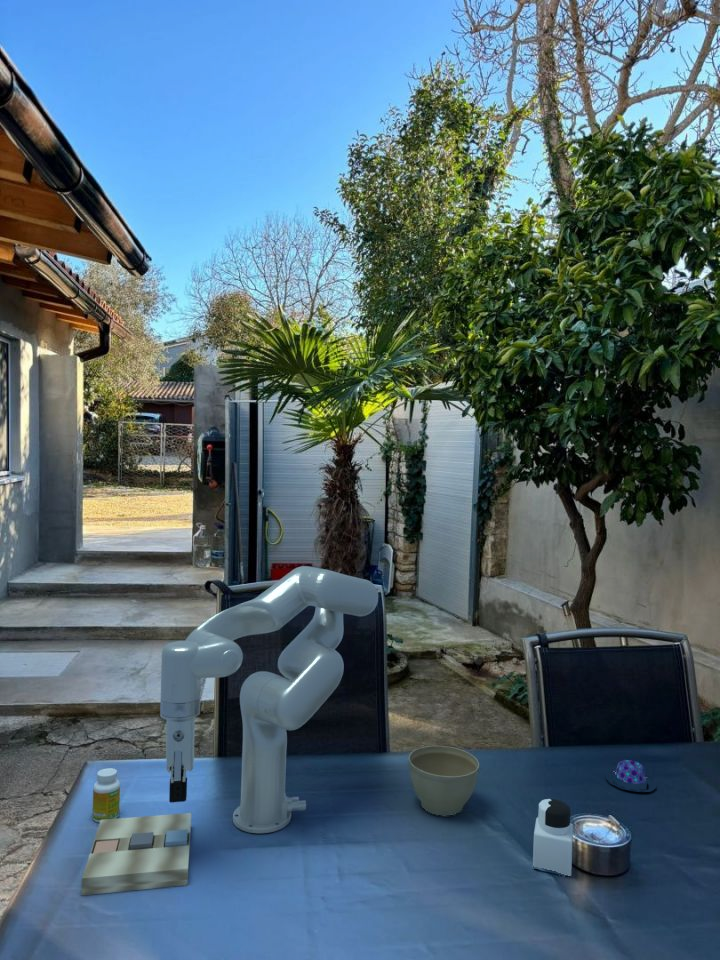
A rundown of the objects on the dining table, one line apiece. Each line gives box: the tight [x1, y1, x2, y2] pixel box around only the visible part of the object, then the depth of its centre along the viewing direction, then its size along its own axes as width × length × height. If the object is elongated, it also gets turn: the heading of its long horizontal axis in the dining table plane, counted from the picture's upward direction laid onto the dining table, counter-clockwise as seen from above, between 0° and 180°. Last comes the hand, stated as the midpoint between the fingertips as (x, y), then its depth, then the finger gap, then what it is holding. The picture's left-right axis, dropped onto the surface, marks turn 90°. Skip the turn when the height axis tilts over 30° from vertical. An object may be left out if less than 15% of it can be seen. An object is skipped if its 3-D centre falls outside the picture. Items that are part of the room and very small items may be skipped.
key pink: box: [93, 840, 119, 853], centre depth 125 cm, size 4×4×2 cm
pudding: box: [614, 759, 647, 784], centre depth 166 cm, size 12×12×5 cm
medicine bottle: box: [532, 798, 574, 877], centre depth 129 cm, size 7×7×12 cm
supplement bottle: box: [91, 767, 121, 824], centre depth 141 cm, size 5×5×10 cm
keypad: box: [80, 812, 192, 896], centre depth 126 cm, size 18×20×3 cm
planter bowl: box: [408, 745, 480, 816], centre depth 150 cm, size 16×16×11 cm
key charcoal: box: [130, 832, 154, 850], centre depth 126 cm, size 4×4×2 cm
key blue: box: [165, 829, 188, 847], centre depth 128 cm, size 4×4×2 cm
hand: (177, 799), depth 128 cm, fingers closed
